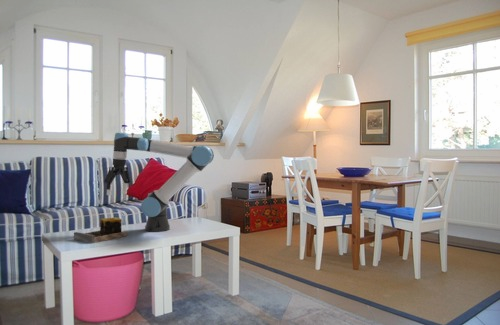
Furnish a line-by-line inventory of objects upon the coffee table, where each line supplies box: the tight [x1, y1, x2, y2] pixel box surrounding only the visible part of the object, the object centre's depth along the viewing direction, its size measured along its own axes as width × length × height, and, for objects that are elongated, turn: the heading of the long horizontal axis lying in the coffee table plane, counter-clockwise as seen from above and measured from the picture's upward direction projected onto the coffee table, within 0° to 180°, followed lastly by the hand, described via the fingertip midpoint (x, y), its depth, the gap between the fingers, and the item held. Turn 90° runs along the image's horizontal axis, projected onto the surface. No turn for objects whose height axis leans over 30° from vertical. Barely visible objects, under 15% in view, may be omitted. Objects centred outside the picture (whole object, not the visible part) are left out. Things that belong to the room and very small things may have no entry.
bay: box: [73, 230, 128, 244], centre depth 224 cm, size 23×16×4 cm
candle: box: [99, 216, 123, 236], centre depth 229 cm, size 10×10×10 cm
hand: (116, 194), depth 235 cm, fingers open, 13 cm apart
